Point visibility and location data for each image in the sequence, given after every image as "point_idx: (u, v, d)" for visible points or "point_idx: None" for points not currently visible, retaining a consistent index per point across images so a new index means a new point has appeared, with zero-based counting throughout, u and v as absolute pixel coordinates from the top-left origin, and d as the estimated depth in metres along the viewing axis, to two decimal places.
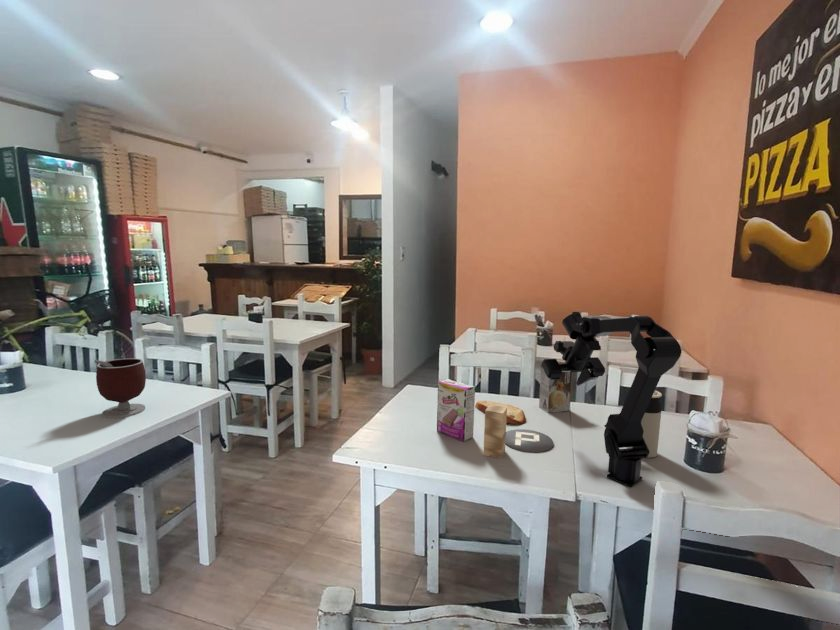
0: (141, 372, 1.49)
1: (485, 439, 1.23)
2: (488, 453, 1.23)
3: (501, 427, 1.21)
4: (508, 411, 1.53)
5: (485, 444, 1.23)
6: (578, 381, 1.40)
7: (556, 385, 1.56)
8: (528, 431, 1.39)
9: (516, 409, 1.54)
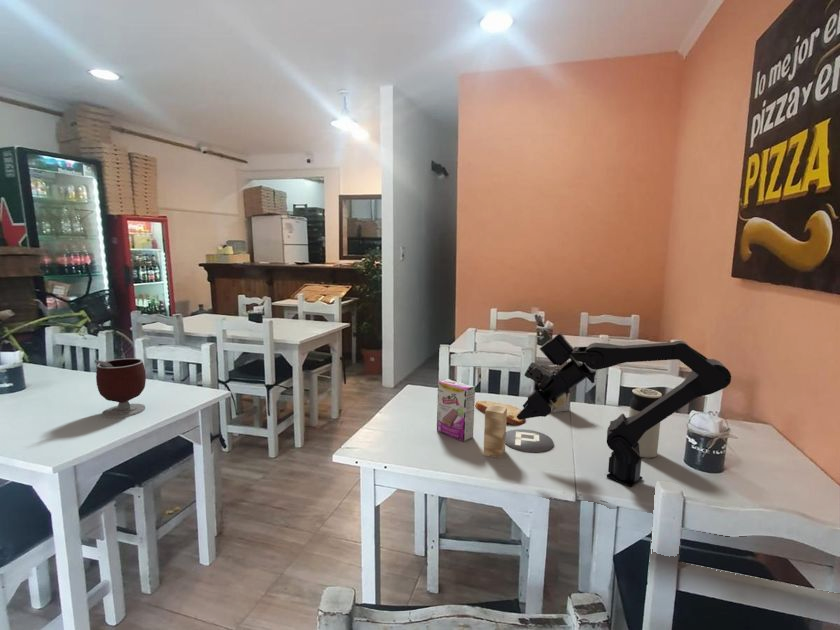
0: (141, 372, 1.49)
1: (485, 439, 1.23)
2: (488, 453, 1.23)
3: (501, 427, 1.21)
4: (507, 411, 1.53)
5: (485, 444, 1.23)
6: (527, 404, 1.24)
7: None
8: (528, 431, 1.39)
9: (515, 410, 1.54)
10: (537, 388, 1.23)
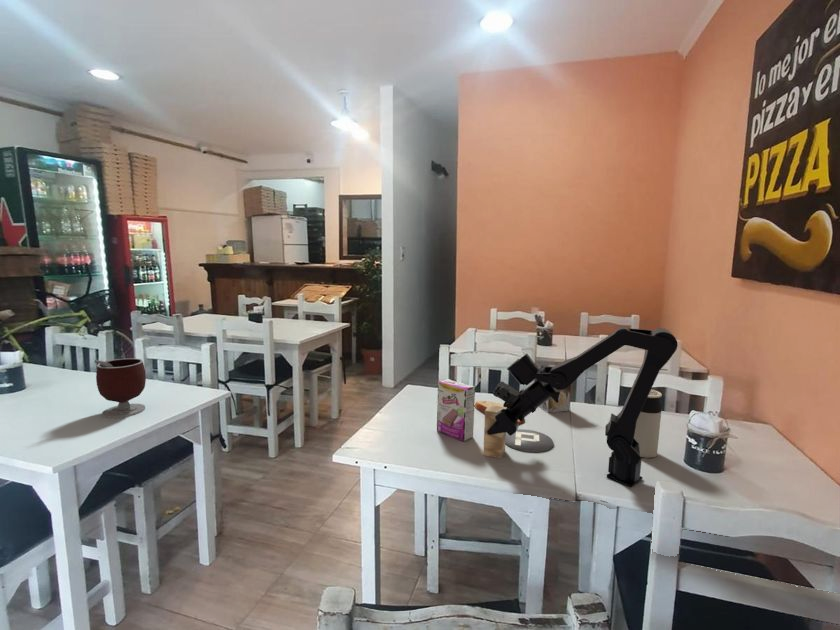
0: (141, 372, 1.49)
1: (485, 439, 1.23)
2: (488, 453, 1.23)
3: None
4: None
5: (485, 444, 1.23)
6: None
7: None
8: (528, 431, 1.39)
9: None
10: None
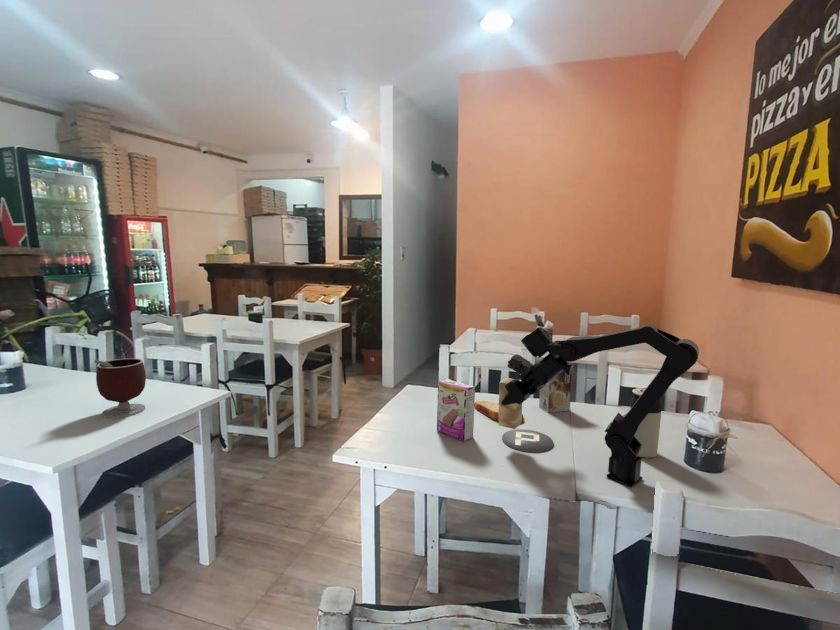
0: (141, 372, 1.49)
1: (500, 410, 1.27)
2: (502, 424, 1.27)
3: None
4: None
5: (500, 415, 1.27)
6: None
7: (556, 385, 1.56)
8: (528, 431, 1.39)
9: None
10: None
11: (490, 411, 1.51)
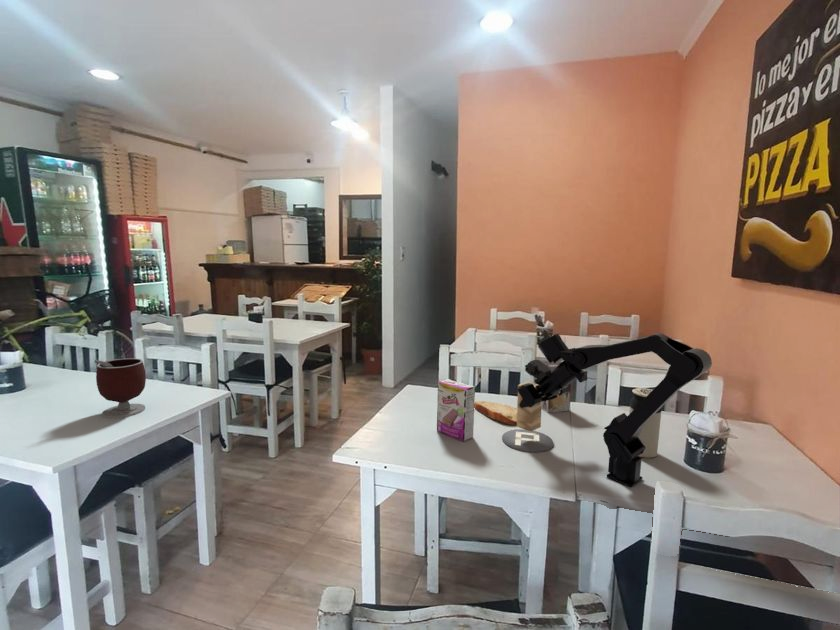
0: (141, 372, 1.49)
1: (518, 412, 1.32)
2: (520, 425, 1.32)
3: None
4: (506, 412, 1.53)
5: (518, 417, 1.32)
6: None
7: None
8: (528, 431, 1.39)
9: (514, 410, 1.53)
10: None
11: (490, 411, 1.51)
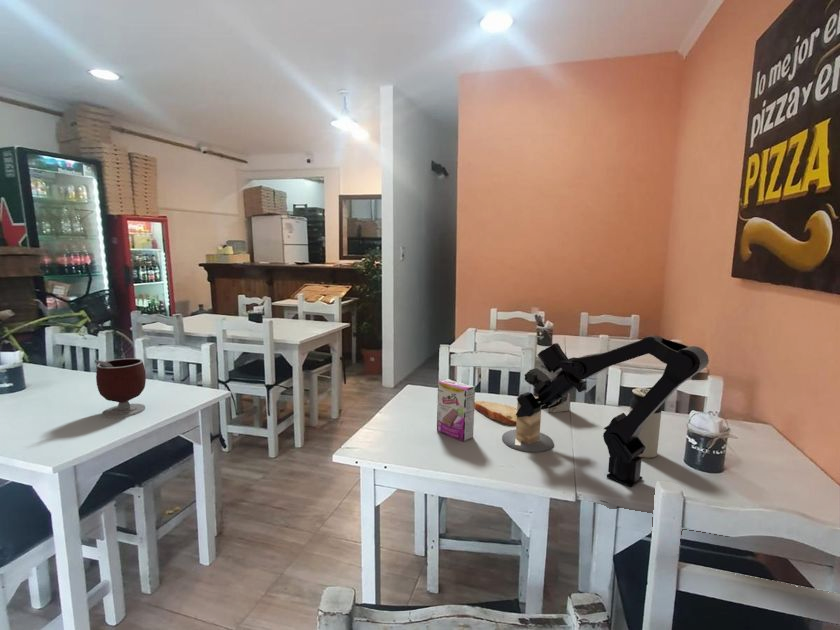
0: (141, 372, 1.49)
1: (517, 424, 1.32)
2: (519, 437, 1.32)
3: None
4: (505, 412, 1.52)
5: (517, 429, 1.33)
6: None
7: None
8: None
9: (514, 410, 1.53)
10: None
11: (489, 411, 1.51)
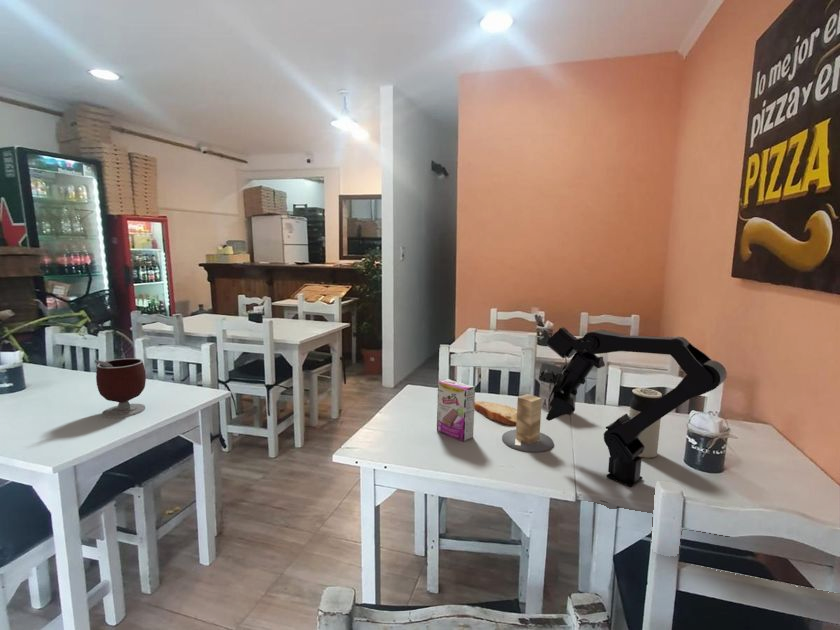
0: (141, 372, 1.49)
1: (517, 424, 1.32)
2: (519, 437, 1.32)
3: (530, 414, 1.29)
4: (505, 412, 1.52)
5: (517, 429, 1.33)
6: None
7: None
8: None
9: (513, 410, 1.53)
10: None
11: (489, 411, 1.51)
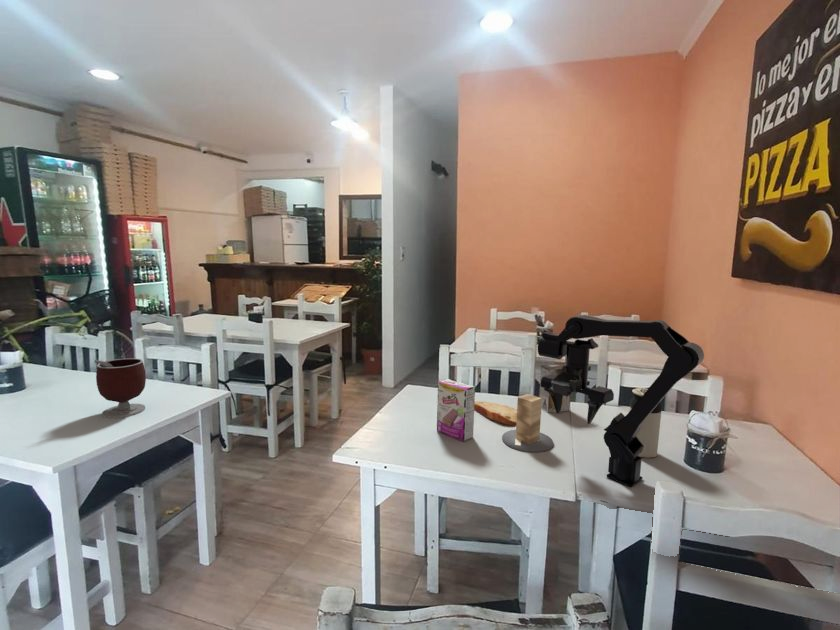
0: (141, 372, 1.49)
1: (517, 424, 1.32)
2: (519, 437, 1.32)
3: (530, 414, 1.29)
4: (504, 412, 1.52)
5: (517, 429, 1.33)
6: (559, 408, 1.23)
7: None
8: None
9: (512, 410, 1.53)
10: None
11: (488, 411, 1.51)
